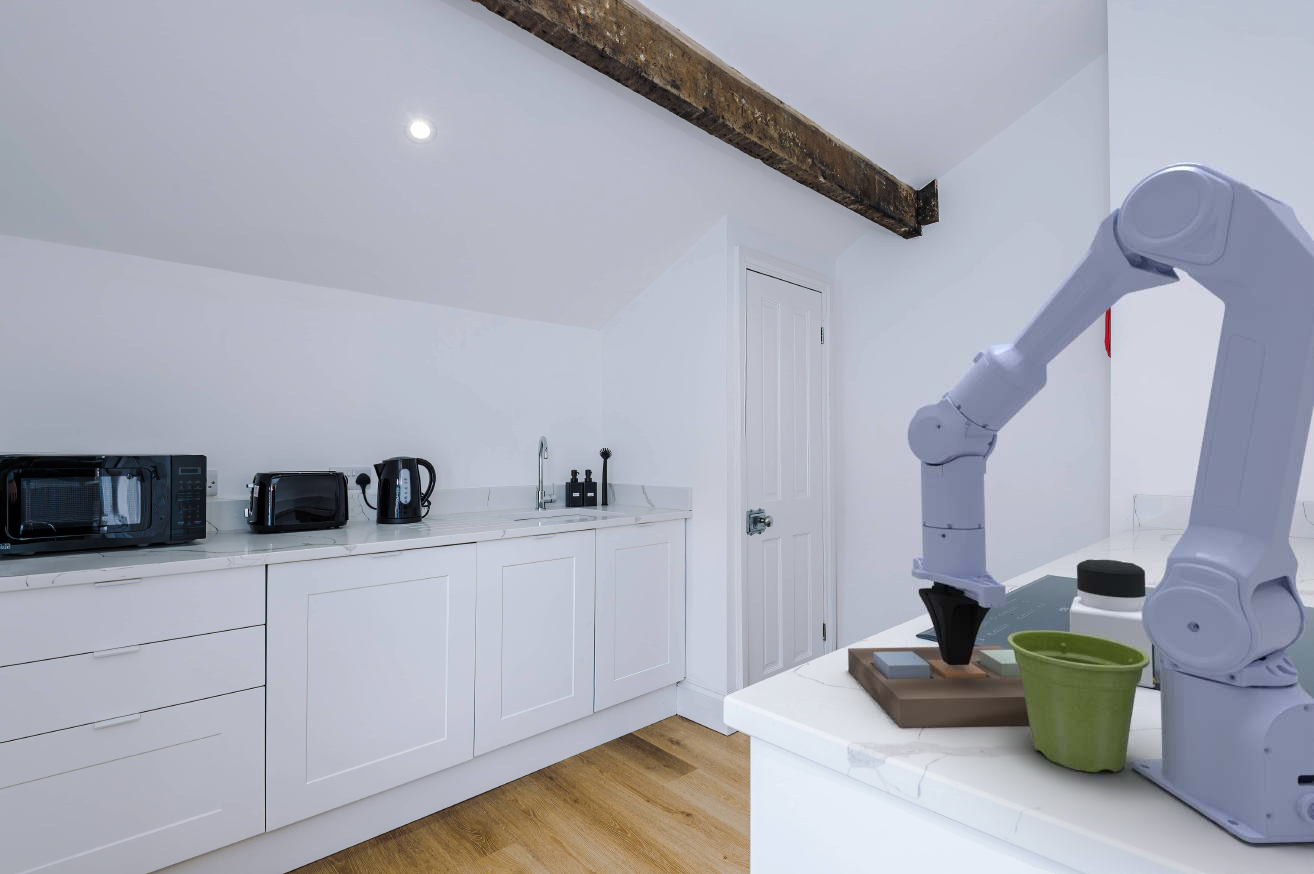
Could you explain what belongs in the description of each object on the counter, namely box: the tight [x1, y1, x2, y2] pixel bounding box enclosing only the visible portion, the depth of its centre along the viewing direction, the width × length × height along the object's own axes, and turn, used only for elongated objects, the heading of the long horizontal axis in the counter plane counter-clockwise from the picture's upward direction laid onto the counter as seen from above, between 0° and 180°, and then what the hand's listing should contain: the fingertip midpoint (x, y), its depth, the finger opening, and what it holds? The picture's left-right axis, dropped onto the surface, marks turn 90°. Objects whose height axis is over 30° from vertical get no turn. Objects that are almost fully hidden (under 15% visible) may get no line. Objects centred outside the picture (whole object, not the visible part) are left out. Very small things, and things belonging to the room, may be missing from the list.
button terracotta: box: [927, 660, 987, 678], centre depth 62 cm, size 4×4×2 cm
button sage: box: [979, 649, 1021, 677], centre depth 62 cm, size 4×4×2 cm
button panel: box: [847, 645, 1030, 729], centre depth 62 cm, size 14×17×2 cm
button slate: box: [874, 651, 930, 679], centre depth 62 cm, size 4×4×2 cm
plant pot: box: [1007, 629, 1150, 773], centre depth 50 cm, size 9×9×9 cm
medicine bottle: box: [1069, 558, 1156, 689], centre depth 68 cm, size 7×7×12 cm
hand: (955, 662), depth 62 cm, fingers closed
